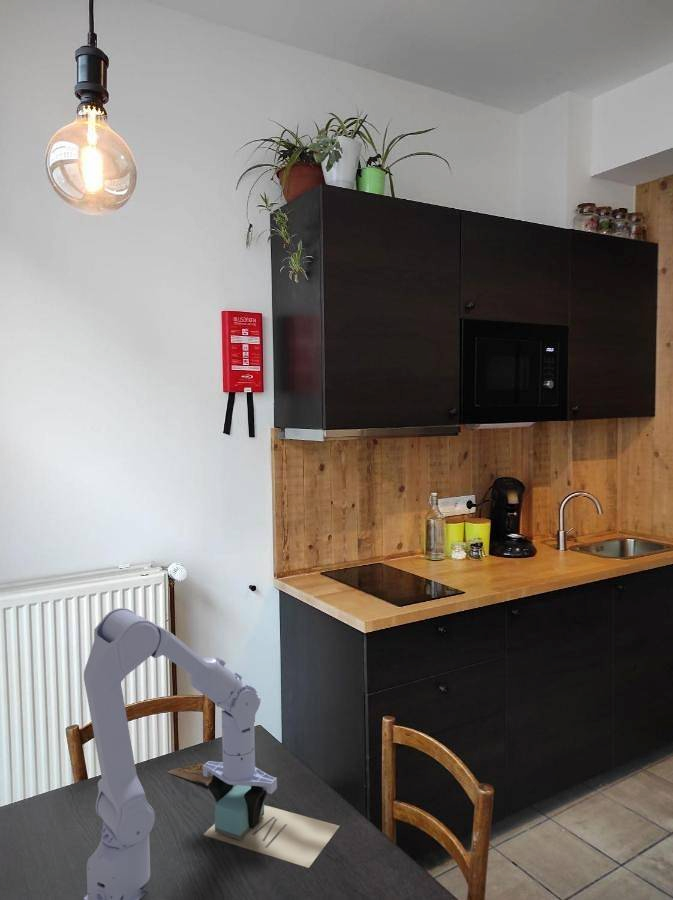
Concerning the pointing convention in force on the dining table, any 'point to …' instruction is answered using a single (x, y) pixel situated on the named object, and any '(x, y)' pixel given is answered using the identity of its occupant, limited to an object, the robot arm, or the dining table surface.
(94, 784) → the dining table surface
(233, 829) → the block
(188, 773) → the wooden fragment
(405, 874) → the dining table surface
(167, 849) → the dining table surface
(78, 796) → the dining table surface
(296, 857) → the birch board
